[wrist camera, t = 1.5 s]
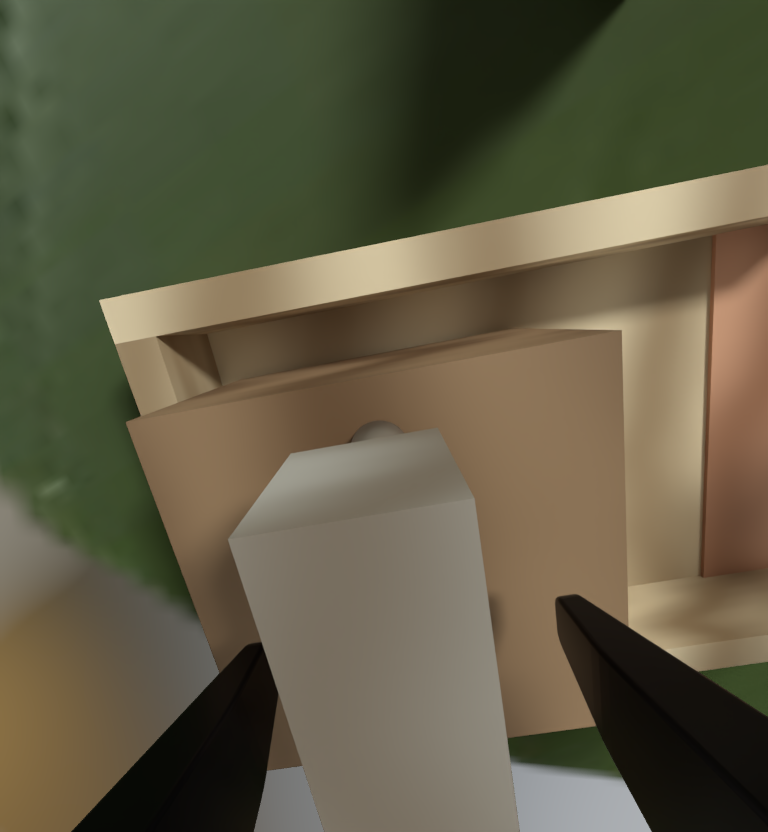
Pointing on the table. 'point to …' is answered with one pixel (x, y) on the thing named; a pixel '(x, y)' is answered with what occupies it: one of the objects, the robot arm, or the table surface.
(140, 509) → the table surface
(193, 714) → the robot arm
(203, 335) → the bay
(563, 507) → the panel with bar handle
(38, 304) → the table surface
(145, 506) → the table surface
